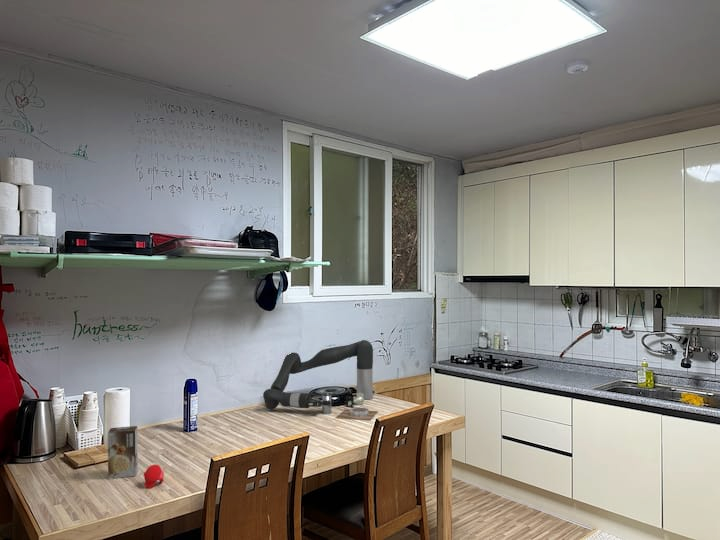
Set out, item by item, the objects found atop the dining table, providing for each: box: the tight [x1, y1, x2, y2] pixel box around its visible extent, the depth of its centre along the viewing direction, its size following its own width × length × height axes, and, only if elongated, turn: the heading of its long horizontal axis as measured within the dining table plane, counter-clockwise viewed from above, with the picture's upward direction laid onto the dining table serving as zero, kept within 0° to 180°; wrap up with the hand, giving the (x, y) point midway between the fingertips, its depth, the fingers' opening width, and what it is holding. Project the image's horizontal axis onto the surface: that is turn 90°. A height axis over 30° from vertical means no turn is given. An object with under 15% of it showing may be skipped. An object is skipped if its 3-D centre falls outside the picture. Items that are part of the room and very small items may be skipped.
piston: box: [321, 391, 332, 415], centre depth 258 cm, size 5×5×11 cm
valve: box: [343, 392, 364, 409], centre depth 273 cm, size 7×7×12 cm
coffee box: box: [107, 425, 139, 479], centre depth 179 cm, size 9×6×16 cm
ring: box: [349, 406, 370, 417], centre depth 253 cm, size 9×9×2 cm
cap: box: [143, 464, 165, 490], centre depth 170 cm, size 8×6×6 cm
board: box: [335, 409, 379, 422], centre depth 254 cm, size 18×18×1 cm
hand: (331, 402), depth 257 cm, fingers closed on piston, 4 cm apart
